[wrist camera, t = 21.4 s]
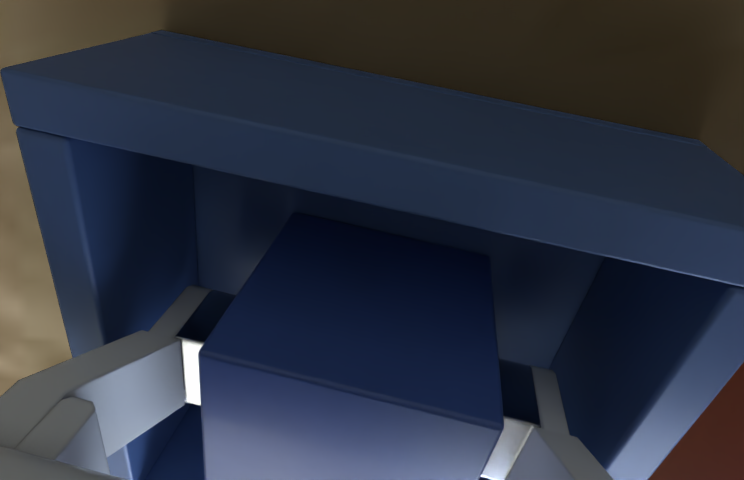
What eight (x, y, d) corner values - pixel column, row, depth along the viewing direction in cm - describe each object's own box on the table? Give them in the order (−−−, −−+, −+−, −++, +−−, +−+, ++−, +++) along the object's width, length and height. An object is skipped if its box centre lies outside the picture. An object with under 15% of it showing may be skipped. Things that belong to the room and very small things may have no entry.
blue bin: (160, 28, 9) (-5, 67, 6) (700, 139, 9) (840, 248, 6) (186, 386, 15) (108, 507, 12) (518, 470, 14) (534, 622, 11)
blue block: (292, 210, 11) (195, 351, 7) (491, 255, 10) (506, 428, 7) (281, 353, 13) (204, 517, 9) (442, 392, 13) (433, 579, 9)
